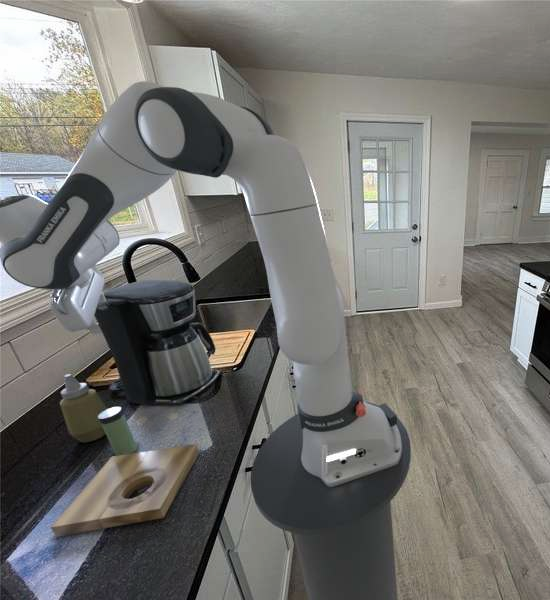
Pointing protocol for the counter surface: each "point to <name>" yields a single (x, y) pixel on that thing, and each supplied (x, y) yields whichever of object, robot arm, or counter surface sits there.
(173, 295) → the coffee maker
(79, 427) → the squeeze bottle
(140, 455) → the wooden board with hole
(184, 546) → the counter surface
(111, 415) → the green cylinder
